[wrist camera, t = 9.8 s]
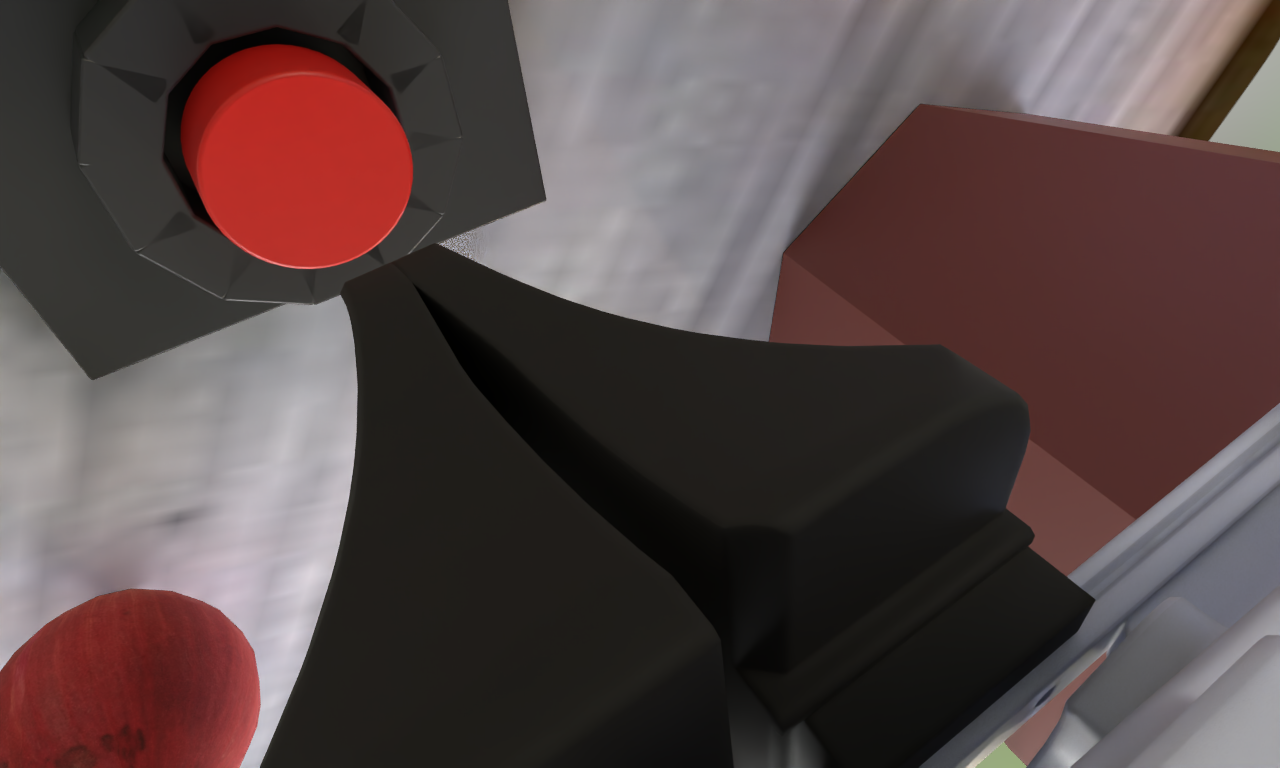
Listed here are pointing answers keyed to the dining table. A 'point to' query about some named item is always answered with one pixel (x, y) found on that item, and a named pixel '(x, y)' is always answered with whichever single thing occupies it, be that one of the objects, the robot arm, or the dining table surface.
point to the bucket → (1063, 302)
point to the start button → (295, 156)
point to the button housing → (160, 181)
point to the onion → (131, 687)
